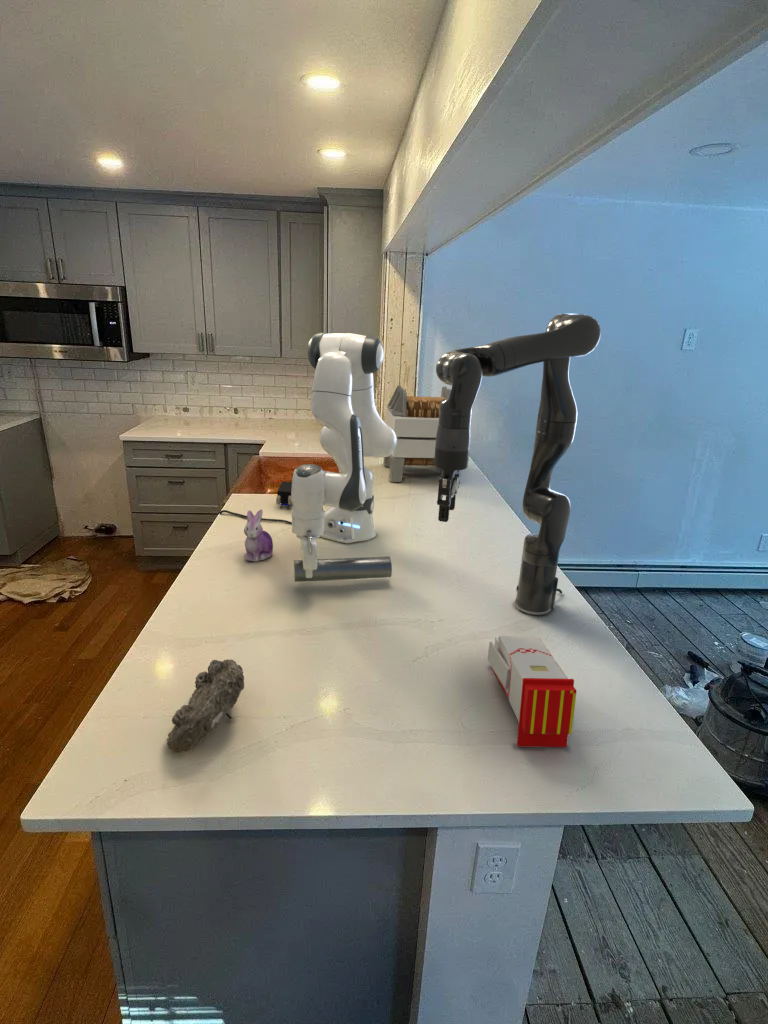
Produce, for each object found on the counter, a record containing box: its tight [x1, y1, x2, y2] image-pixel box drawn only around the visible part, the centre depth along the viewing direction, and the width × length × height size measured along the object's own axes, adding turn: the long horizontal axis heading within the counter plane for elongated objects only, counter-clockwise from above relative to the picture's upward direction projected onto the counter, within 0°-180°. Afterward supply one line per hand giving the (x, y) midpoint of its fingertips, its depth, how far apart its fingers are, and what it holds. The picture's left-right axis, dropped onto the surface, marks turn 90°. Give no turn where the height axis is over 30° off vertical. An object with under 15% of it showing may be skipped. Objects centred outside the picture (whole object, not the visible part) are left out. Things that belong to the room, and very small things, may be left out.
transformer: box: [383, 384, 462, 483], centre depth 268 cm, size 34×33×41 cm
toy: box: [486, 635, 577, 748], centre depth 115 cm, size 12×13×30 cm
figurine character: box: [275, 480, 293, 509], centre depth 223 cm, size 7×8×15 cm
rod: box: [293, 555, 393, 583], centre depth 160 cm, size 27×6×6 cm, turn 101°
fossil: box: [166, 658, 245, 754], centre depth 106 cm, size 22×10×15 cm
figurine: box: [243, 508, 274, 562], centre depth 175 cm, size 9×10×15 cm
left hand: (307, 571), depth 158 cm, fingers closed on rod, 6 cm apart
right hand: (446, 515), depth 130 cm, fingers open, 8 cm apart
